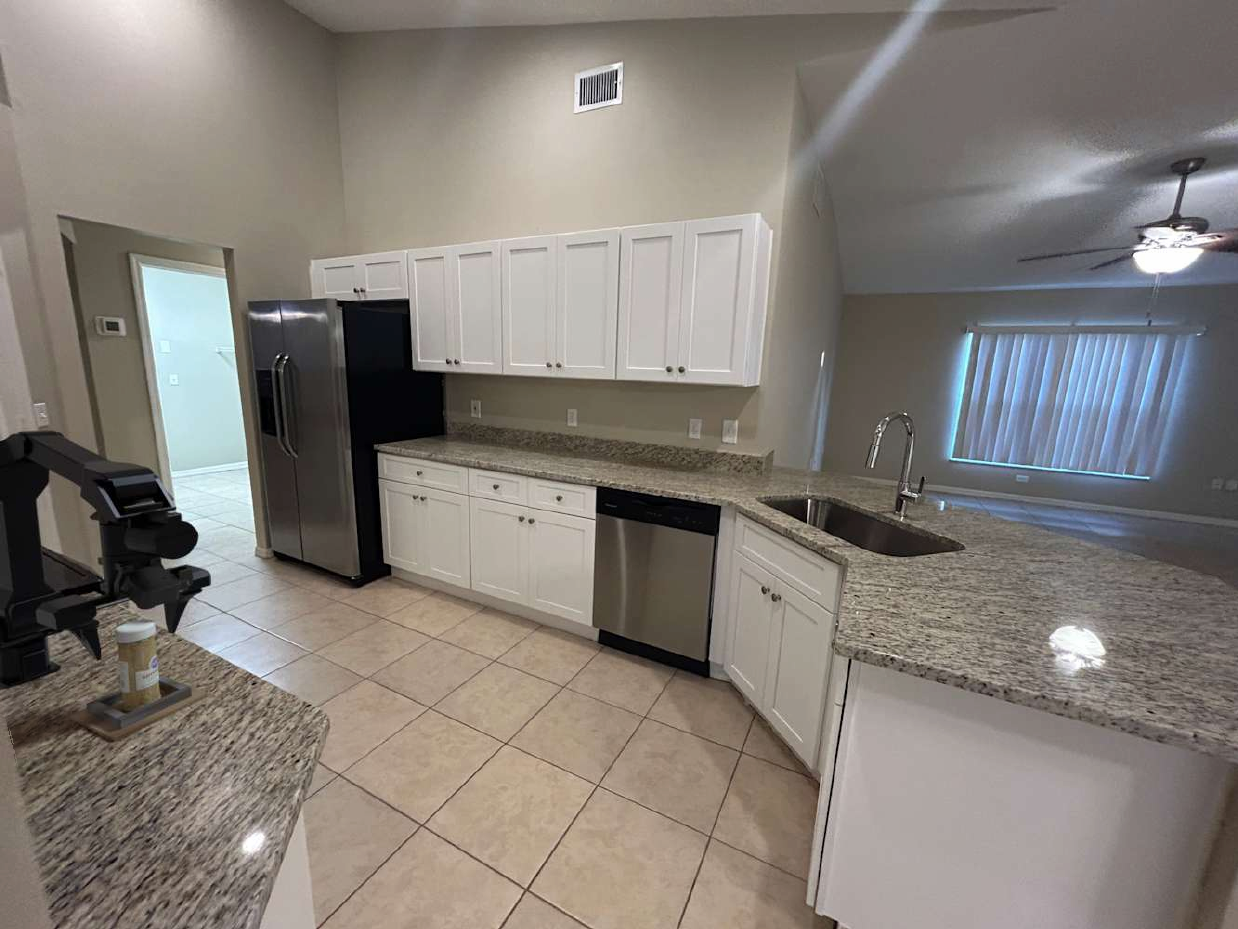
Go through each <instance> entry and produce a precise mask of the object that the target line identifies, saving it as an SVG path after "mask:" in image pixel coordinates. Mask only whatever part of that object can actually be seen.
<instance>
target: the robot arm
mask: <svg viewBox="0 0 1238 929" xmlns="http://www.w3.org/2000/svg"><path fill="white" fill-rule="evenodd" d="M50 471H51V472H53V473H55V474H56V475H58V476H61V477H62V478H64V479H66V480H68V481H70V482H71V483H73V484H75V485H77V486H78V487H79V488H80V490H79V497H80V498H81V499H83V500H84V501H86V502H87V503H88V504H90V506H91V507H92V508H93V509H94V510H95V511H94V512H93V513H92V514H90V516H89V519H90V520H92V521H98V525H99V526H98V527H99V537H100V545H101V546H100V548H101V556H100V557H99V556H98V557H97V562H98V563H97V564H98V565H100V566H102V570H103V581H104V582H102V583H99V584H100V585H99V586H100V591H103V592H105V594H101V595H96V596H94V597H89V598H86V597H84V596H81V595H78V594H71V595H68V596H65V594H64V593H63V592H62V591H61V590H59V591H58V590H56V589H55V588H54V587H52V586H51V585H50V584H48V583H47V581H46V574H45V573H46V572H45V566H44V557H43V546H42V538H41V529H40V519H39V511H38V499H39V497H40V496H41V494H42V493H43V492H44V491H45V489H46V488H47V487H48V485H49V484H50V474H51V473H50ZM174 499H175V498H174V497H172V496H171V494H170V493H169V492H168V490H167V489H166V487H165V486H164V484H163V483H162V482H161V479H160V478H159V477H158V475H157V474H156V473H155V472H154V471H153V470H152V469H150V468H149V467H146V466H143V465H139V464H136V463H132V462H121V461H120V462H119V461H114V460H110V459H107V458H105V457H103V456H101V455H99V454H97V453H95V452H93V451H92V450H90V449H87V448H85V447H84V446H81V445H79V444H77V443H76V442H74V441H72V440H70V439H68V438H66V436H65V435H64V433H62V432H60V431H55V430H53V429H50V430H49V429H48V430H25V431H22V430H21V431H18V432H16V433H15V432H14V433H11V434H10V435H9V436H8V437H6V438H4V439H2V440H1V439H0V686H3V687H4V688H12V687H13V686H17V685H19V684H22V683H25V682H27V681H30V680H34V679H36V678H39V677H42V676H45V675H48V674H51V673H53V672H57V671H59V670H62V665H61V664H58V663H56V662H54V661H52V660H51V654H50V647H49V637H50V636H52V635H55V634H60V633H63V632H64V631H66V632H69V633H71V634H73V635H74V636H75V637H76V639H78V641H79V642H80V643H81V644H82V646H83V647H84V648H85V650H86V651H87V653H89V655H90V656H91V657H92V658H93V660H94V661H101V660H102V648H101V642H100V637H99V632H98V628H99V626H100V623H101V621H100V620H98V619H94V618H95V617H96V616H97V615H98V613H97V612H98V610H102V609H105V608H109V607H111V606H115V605H119V604H122V603H126V602H129V601H130V602H132V603H133V604H135V606H136V608H138V609H139V610H151V609H154V608H156V607H158V606H161V605H163V610H164V617H165V625H166V629H167V632H168V633H169V634H171V635H173V634H175V633H176V632H177V629H178V626H179V624H180V621H181V619H182V617H183V614H184V612H185V609H186V607H187V606H188V603H189V601H190V600H192V599H193V597H195V596H196V595H198V594H200V593H202V591H203V588H204V589H205V588H207V587H210V586H211V585H212V576H211V573H210V572H209V571H208V570H207V569H205V568H203V567H202V568H201V567H199V566H198V567H197V566H195V565H190V564H187V563H186V564H182V565H179V566H175V567H168V568H165V567H164V565H163V564H162V559H165V560H180V559H182V558H185V557H186V556H188V555H189V554H191V553H192V551H194V550H195V547H196V546H197V544H198V540H199V532H198V531H197V529H196V527H195V526H194V525H193V524H192V523H190V522H188V521H185V520H183V514H182V512H178V511H177V512H176V510H177V506H176V505H175V502H174Z"/></svg>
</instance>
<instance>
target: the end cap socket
mask: <svg viewBox="0 0 1238 929" xmlns="http://www.w3.org/2000/svg"><path fill="white" fill-rule="evenodd" d="M158 681H159V693H160V695H161V698H160V699H158V700H156V701H154V702H151V703H149V704H147V705H145V706H143V707H140V708H138V709H136V710H134V711H125V710H123V709H122V705H123V698H122V691H121V688H120V689H118V690H116V691H114V692H111V693H108V694H107V695H104V696H101V697H99V698H96V699H94V700H92V701H89V702H87V703H86V707H85V708H84V709H81V710H78V711H76V712H73V713H71V714H69V715H68V719H69V720H71V721H73V722H75V723H77V724H79V725H81V726H82V727H85V728H87V729H89V730H90V731H92V730H93V731H92V732H94V731H95V733H96V732H97V733H96V734H99V735H101V736H102V737H104V738H106V739H109V740H111V742H114V743H115V742H117V741H119V740H121V739H123V738H126V737H127V736H129V735H131V734H133V733H135V732H137V731H139V730H141V729H144V728H145V727H148V726H150V725H152V724H154V723H156V722H158V721H160V720H162V719H164V718H166V717H168V716H171V715H173V714H174V713H177V712H179V711H180V710H183V709H185V708H186V707H189V706H191V705H193V704H195V703H197V702H199V701H201V700H204V699H206V698H208V697H209V694H208V692H206V691H203V690H201V689H198V688H195V687H193V686H191V685H188V684H185V683H183V682H181V681H179V680H176V679H173V678H171V677H169V676H166V675H161V674H159V680H158Z"/></svg>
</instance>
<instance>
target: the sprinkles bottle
mask: <svg viewBox="0 0 1238 929" xmlns="http://www.w3.org/2000/svg"><path fill="white" fill-rule="evenodd" d="M156 628H157V626H156V622H155V620H153V619H149V618H147V619H137V620H132V621H129V622H125V623H122V624H121V625H119V626H117V627H116V628H115V630H114V639H115V642H116V645H117V655H118V659H117V662H118V669H119V670H118V671H119V681H120V683H119V684H120V689H121V691H122V698H123V705H122V709H123V710H125V711H134V710H136V709H138V708H140V707H143V706H145V705H147V704H149V703H151V702H154V701H156V700H158V699H160V698H161V695H160V693H159V681H158V680H159V675H160V674H159V665H158V662H159V661H158V655H157V647H156V632H157V629H156Z"/></svg>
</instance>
